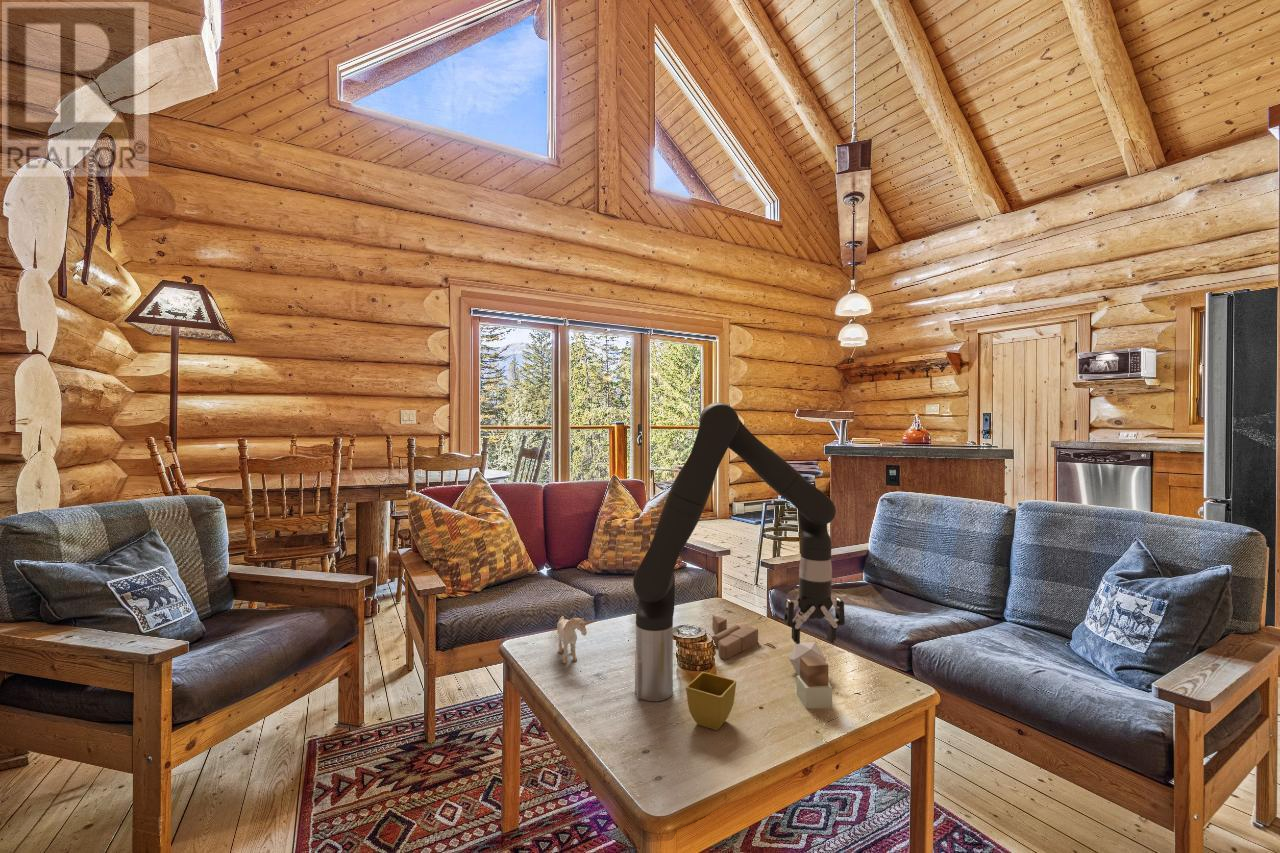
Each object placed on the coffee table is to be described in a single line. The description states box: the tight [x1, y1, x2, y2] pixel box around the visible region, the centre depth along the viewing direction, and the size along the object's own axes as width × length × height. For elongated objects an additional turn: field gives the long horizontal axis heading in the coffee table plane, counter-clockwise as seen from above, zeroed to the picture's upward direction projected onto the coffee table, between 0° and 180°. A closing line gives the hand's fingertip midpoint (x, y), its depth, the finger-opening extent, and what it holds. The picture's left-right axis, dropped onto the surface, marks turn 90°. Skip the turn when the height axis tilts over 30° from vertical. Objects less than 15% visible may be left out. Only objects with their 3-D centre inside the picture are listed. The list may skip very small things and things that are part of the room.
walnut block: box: [800, 656, 829, 687], centre depth 137 cm, size 5×5×5 cm
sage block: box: [796, 674, 833, 709], centre depth 137 cm, size 6×6×5 cm
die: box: [788, 641, 827, 675], centre depth 151 cm, size 8×9×10 cm
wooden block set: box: [711, 615, 759, 661], centre depth 172 cm, size 17×6×18 cm
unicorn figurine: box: [556, 615, 599, 664], centre depth 161 cm, size 7×20×13 cm, turn 36°
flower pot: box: [685, 671, 737, 731], centre depth 127 cm, size 9×9×9 cm
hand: (813, 642), depth 137 cm, fingers open, 8 cm apart
